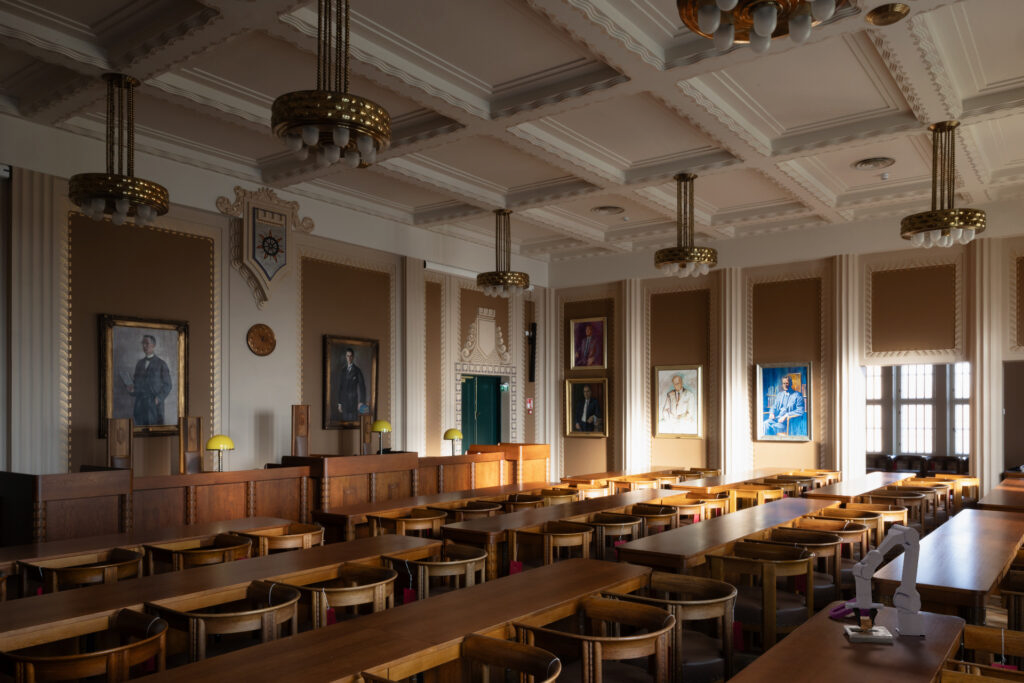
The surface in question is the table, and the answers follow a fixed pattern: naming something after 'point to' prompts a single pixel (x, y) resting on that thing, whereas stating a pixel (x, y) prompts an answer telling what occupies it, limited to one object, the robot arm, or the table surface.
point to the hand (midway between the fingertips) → (865, 626)
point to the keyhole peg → (865, 624)
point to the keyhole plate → (869, 634)
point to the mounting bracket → (846, 610)
